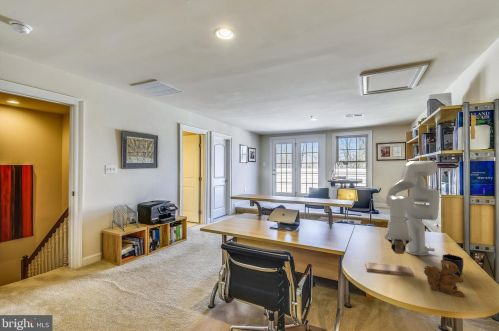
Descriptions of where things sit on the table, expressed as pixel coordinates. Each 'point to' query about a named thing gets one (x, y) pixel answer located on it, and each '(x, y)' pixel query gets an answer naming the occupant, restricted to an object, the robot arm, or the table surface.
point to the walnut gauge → (399, 246)
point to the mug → (455, 262)
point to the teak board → (389, 268)
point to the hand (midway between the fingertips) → (398, 251)
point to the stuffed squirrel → (444, 278)
